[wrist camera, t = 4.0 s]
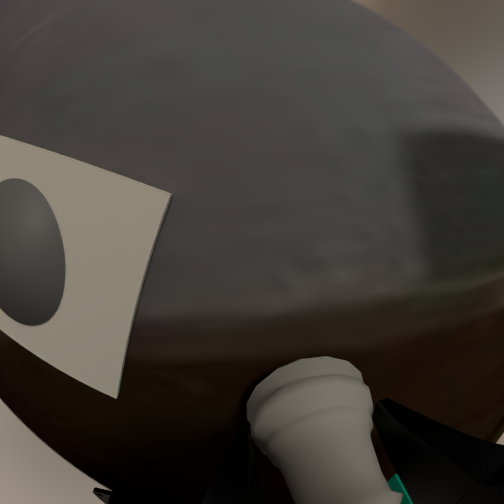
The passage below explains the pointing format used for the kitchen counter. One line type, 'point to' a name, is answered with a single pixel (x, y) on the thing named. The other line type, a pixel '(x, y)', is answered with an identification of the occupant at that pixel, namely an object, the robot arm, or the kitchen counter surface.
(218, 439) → the kitchen counter surface
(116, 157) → the kitchen counter surface
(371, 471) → the rook chess piece
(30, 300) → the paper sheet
